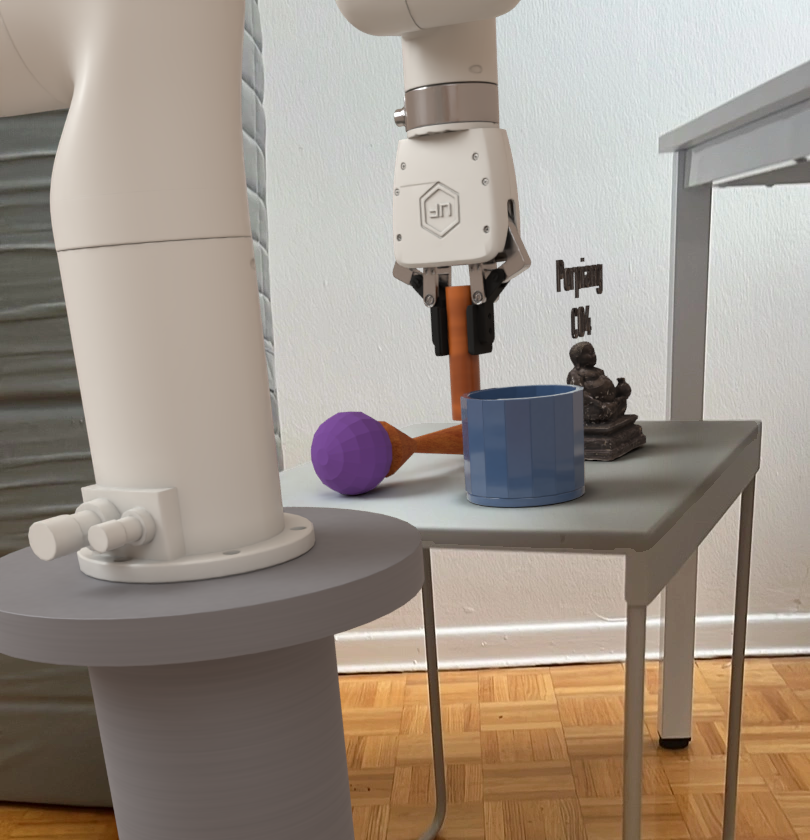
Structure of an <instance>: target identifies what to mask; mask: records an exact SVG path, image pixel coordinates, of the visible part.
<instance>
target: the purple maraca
mask: <svg viewBox="0 0 810 840" xmlns="http://www.w3.org/2000/svg"><path fill="white" fill-rule="evenodd" d="M310 445H311V446H310V460H311V464H312V466H313V470H314V473H315V474H316V475H317V477H318V479H319V480H320V482H321V483H322V484H323V485H324V486H326V487H328V488H329V489H331V490H332V491H334V492H337V493H339V494H341V495H350V496H356V495H362V494H366V493H368V492H370V491H372V490H374V489H375V488H377V486H379V485H380V484H381V483H382V482H383V480H384V479H388V478H389V477H392V476H393V475H395V474H396V473H397V472H398V471H399V470H400V468H401V467H402V466H403V465H405V463H406V462H407V461H408V460H410V458H411V457H412V456H413V455H414V454H428V455H429V454H432V455H433V454H435V455H457V456H461V455H462V456H464V453H463V435H462V423H460V424H457V425H452V426H450V427H445V428H442V429H439V430H436V431H432V432H429V433H426V434H422V435H418V436H416V437H411V436H409V435H408V434H406V433H405V432H403V431H402V430H400V429H399V428H397V427H395V426H393V425H392V424H390V423H389V422H387V421H385V420H377V419H375V418H373V417H372V416H370V415H368V414H367V413H364V412H362V411H339V412H337V413H335V414H334V415H332V416H330V417H329V418H327V419H326V420H324V421H323V422H322V423H320V424H319V426H318V428H317V429H316V431H315V432H314V434H313V437H312V442H311V444H310Z"/></svg>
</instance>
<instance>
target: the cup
mask: <svg viewBox="0 0 810 840" xmlns="http://www.w3.org/2000/svg"><path fill="white" fill-rule="evenodd" d="M460 399H461V417H462V421H461V424H462V435H463V453H464V455H463V468H464V469H463V470H464V471H463V472H464V486H465V488H464V489H465V492H466V499H467V501H468V502H470V503H471V504H475V505H479V506H484V507H492V508H493V507H495V508H528V507H541V506H548V505H549V506H550V505H555V504H561V503H565V502H569V501H572V500H575V499H579V498H580V497H582V496H583V495H584V494H585V493H586V459H585V440H584V388H583V387H581V386H577V385H567V384H566V383H565V384H564V383H563V384H562V383H546V384H545V383H542V384H541V383H540V384H524V385H523V384H522V385H521V384H520V385H509V386H508V385H507V386H500V387H499V386H498V387H490V388H483V389H481V390H477V391H472V392H469V393H465V394H463V395H462V396H461V397H460Z"/></svg>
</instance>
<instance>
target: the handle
mask: <svg viewBox="0 0 810 840" xmlns="http://www.w3.org/2000/svg"><path fill="white" fill-rule="evenodd" d="M445 291H446V310H447V329H448V348H449V355H448V365H449V379H450V380H449V382H450V383H449V384H450V385H449V386H450V402H451V420H452V421H455V422H462V417H461V399H460V397H461V396H462V395H463V394H465V393H469V392H472V391H477V390H482V387H481V366H480V355H471V354H469V352H468V339H467V317H466V308H467V306H468V305H472V297H471V287H470V284H465V285H451V286H449V287H445Z"/></svg>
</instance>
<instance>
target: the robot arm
mask: <svg viewBox="0 0 810 840" xmlns="http://www.w3.org/2000/svg"><path fill="white" fill-rule="evenodd" d="M334 1H335V4H336V6H337V8H338V9H339V11H340V13H341V15H342V16H343V17H344V18H345V20H346V21H347V22H348V23H349V24H350V25H351V26H352V27H354V28H355V29H357V30H358V31H360V32H362V33H364V34H367V35H369V36H373V37H400V39H401V53H402V70H403V85H404V86H403V87H404V88H403V89H404V96H403V106H402V108H396V109H395V110H394V113H393V121H394V123H395V125H396V127H397V128H400V127H401V128H402V127H405V133H406V136H407V137H406V138H402V139H399V140H398V141H397V147H396V154H395V162H394V163H395V164H394V171H393V172H394V173H393V185H392V187H393V188H392V240H393V241H392V243H393V254H394V259H395V262H394V265H393V267H392V276H393V278H395V279H396V280H398V281H400V282H401V283H404V284H406V285H407V286H410V287H412V289H413V290H414V291H415V292H416V293H417V294H418V295H419V296H420V298H421V299H422V301H423V304H424V306H425V307H427V308H429V312H430V313H429V314H430V328H431V329H430V330H431V343H432V344H433V346H434V354H435V356H436V357H447V356H449V348H448V329H447V310H446V291H445V287H449V286H452V267H458V266H468V277H469V285H470V287H471V297H472V305H468V306H467V308H466V317H467V339H468V352H469V354H471V355H479V356H480V355H484V354H490V353H492V352H493V349H494V347H493V346H494V345H493V343H494V342H495V340H496V330H495V329H496V328H495V327H496V325H495V303H497V302H498V301H499V300H500V297H501V296H500V295H501V294H502V292H503V291H504V290H505V288H506V287H507V286H508V284H509V283H510V282H511V280H512V279H516V277H518V276H519V275H521V274H523V273H524V272H526V271H527V270H528V269H529V268H530V267H531V265H532V260H531V257H530V255H529V253H528V251H527V248H526V246H525V243H524V242H523V240H522V238H521V215H520V213H521V212H520V202H519V201H520V199H519V190H518V183H517V176H516V169H515V164H514V158H513V152H512V149H511V145H510V144H511V143H510V141H509V137H508V136H509V135H508V132H507V130H506V129H505V128H501V127H500V103H499V102H500V97H499V73H498V70H499V69H498V45H497V44H498V42H497V18H498V17H501V16H503V15H507V14H508V13H509V12H511V11H513V9H515V8H516V7H517V6H518V4H519V3H520V2H521V0H334ZM245 21H246V0H0V118H5V117H7V118H8V117H15V116H23V115H30V114H31V115H32V114H37V113H44V112H51V111H58V110H63V109H64V110H65V109H68V112H67V115H66V118H65V122H64V125H63V128H62V132H61V135H60V138H59V142H58V145H57V149H56V154H55V158H54V160H53V166H52V170H51V171H52V172H51V176H50V177H51V178H50V189H49V190H50V191H49V212H50V220H51V221H50V222H51V229H52V235H53V241H54V247H55V252H56V255H57V261H58V267H59V273H60V279H61V285H62V290H63V296H64V302H65V308H66V314H67V320H68V325H69V326H68V327H69V333H70V337H71V344H72V350H73V354H74V362H75V367H76V373H77V379H78V384H79V392H80V397H81V404H82V408H83V415H84V420H85V427H86V432H87V438H88V444H89V451H90V454H91V461H92V468H93V474H94V480H95V483H93V484H90V485H87V486H82V487H80V491H81V497H82V502H81V503H80V505H78V506H77V507H76V509H75V511H74V513H72V514H68V513H67V514H59V515H56V516H53V517H49V518H45V519H42V520H38V521H34V522H33V523H32V524H31V525H30V526H29V528H28V534H27V536H28V537H27V538H28V543H29V546H31V548H32V550H33V552H34V554H35V555H37V556H38V557H39V558H40V559H41V560H45V561H50V560H54V559H57V558H60V557H63V556H66V555H69V554H73V553H75V552H77V556H78V560H79V565H80V570H81V571H82V572H83V573H85V574H86V575H87V576H89V577H92V578H95V579H98V580H103V581H109V582H116V583H128V584H164V583H181V582H192V581H202V580H209V579H217V578H224V577H229V576H235V575H241V574H246V573H250V572H254V571H259V570H263V569H267V568H270V567H273V566H277V565H280V564H283V563H286V562H288V561H291V560H293V559H296V558H298V557H300V556H301V555H303V554H305V553H307V552H308V551H309V550H310V549H311V548H312V547H313V546H314V543H315V534H314V527H313V523H312V522H310V521H309V520H308V519H307V518H304V517H302V516H299V515H295V514H290V513H283V507H284V505H283V496H282V488H281V479H280V469H279V462H278V461H279V459H278V452H277V442H276V435H275V434H276V433H275V427H274V426H275V425H274V416H273V408H272V399H271V389H270V381H269V380H270V379H269V373H268V372H269V371H268V364H267V354H266V346H265V337H264V335H265V334H264V328H263V317H262V311H261V301H260V292H259V284H258V283H259V282H258V273H257V265H256V264H257V263H256V256H255V247H254V238H253V234H252V233H253V232H252V223H251V215H250V205H249V197H248V196H249V195H248V187H247V185H248V184H247V177H246V176H247V173H246V163H245V151H244V150H245V149H244V134H243V133H244V132H243V112H242V111H243V107H242V104H243V103H242V102H243V101H242V100H243V99H242V96H243V95H242V84H243V82H242V81H243V80H242V79H243V57H244V56H243V55H244V39H245V38H244V36H245V24H246V23H245ZM497 263H502V264H501V265H500V266H498V264H497ZM419 269H422V271H421V270H419Z"/></svg>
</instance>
